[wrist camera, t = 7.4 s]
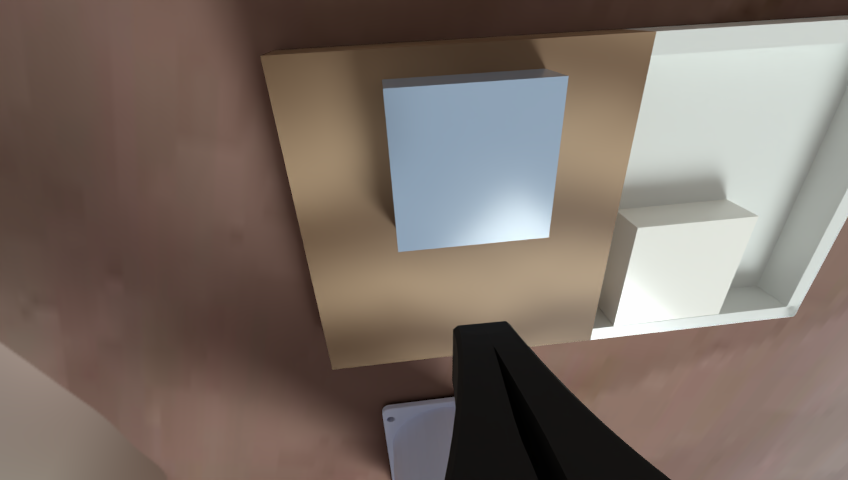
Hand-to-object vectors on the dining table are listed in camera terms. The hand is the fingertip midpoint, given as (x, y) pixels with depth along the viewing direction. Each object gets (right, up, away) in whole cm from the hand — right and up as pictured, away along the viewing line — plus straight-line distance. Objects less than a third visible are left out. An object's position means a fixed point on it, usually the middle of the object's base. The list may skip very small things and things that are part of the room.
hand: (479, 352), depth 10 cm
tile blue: (0, +6, +6) cm, 9 cm away
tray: (+13, +6, +11) cm, 18 cm away
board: (0, +4, +10) cm, 11 cm away
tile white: (+11, +2, +12) cm, 17 cm away
